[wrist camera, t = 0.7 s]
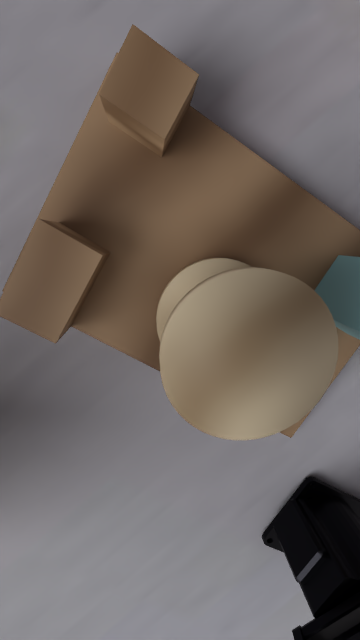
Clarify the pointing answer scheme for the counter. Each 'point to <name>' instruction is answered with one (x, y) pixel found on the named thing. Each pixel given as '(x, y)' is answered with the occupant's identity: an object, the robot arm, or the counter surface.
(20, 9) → the counter surface
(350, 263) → the block
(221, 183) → the board
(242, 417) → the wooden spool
